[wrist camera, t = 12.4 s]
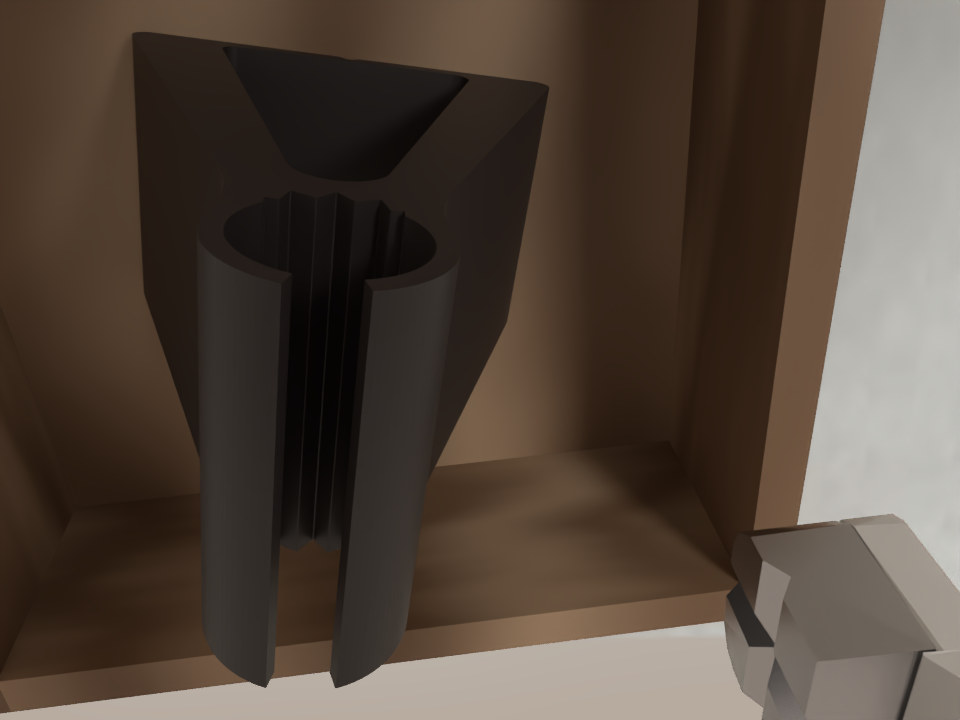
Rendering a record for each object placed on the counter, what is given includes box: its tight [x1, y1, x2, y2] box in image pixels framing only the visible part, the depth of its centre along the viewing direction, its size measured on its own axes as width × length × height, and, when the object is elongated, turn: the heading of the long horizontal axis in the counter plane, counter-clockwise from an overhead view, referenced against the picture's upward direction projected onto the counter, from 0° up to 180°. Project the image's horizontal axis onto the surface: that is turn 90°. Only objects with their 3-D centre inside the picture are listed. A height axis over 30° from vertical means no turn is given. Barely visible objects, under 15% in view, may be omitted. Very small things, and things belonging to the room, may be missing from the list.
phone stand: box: [132, 32, 549, 688], centre depth 15 cm, size 9×6×12 cm, turn 81°
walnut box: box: [0, 0, 885, 713], centre depth 18 cm, size 19×19×7 cm
